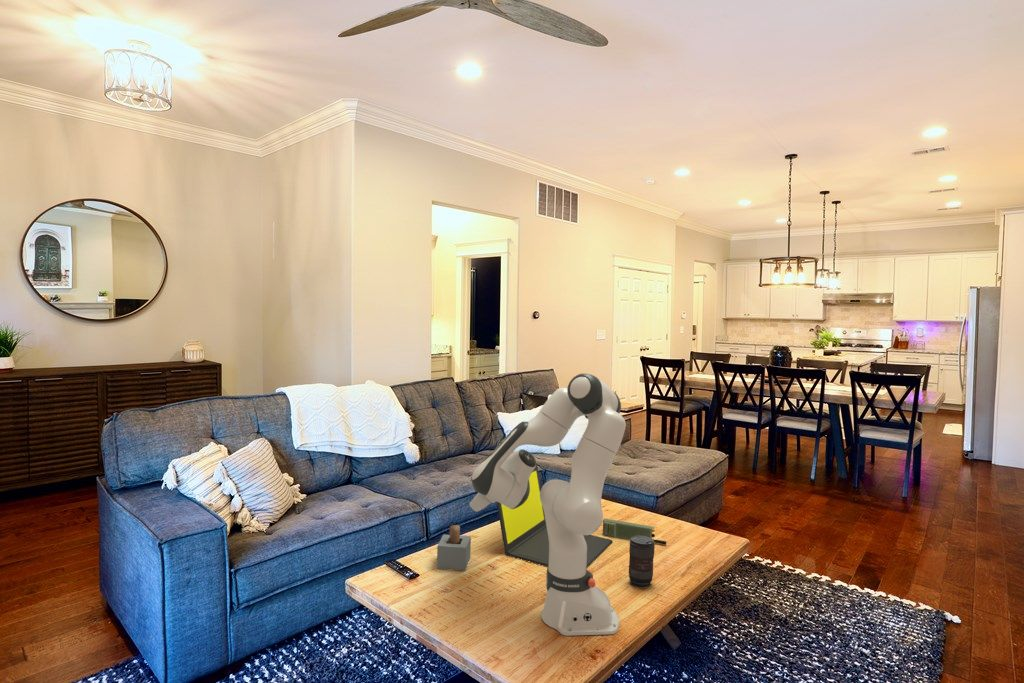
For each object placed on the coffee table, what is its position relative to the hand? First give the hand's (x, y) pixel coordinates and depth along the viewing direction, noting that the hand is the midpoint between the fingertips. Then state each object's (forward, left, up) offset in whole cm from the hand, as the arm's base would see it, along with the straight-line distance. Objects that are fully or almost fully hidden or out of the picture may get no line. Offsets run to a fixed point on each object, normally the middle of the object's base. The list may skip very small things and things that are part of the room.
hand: (478, 497), depth 196 cm
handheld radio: (-58, -32, -25) cm, 71 cm away
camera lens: (-56, +5, -24) cm, 61 cm away
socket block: (+8, 0, -24) cm, 26 cm away
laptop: (-27, -20, -25) cm, 41 cm away
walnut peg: (+8, 0, -21) cm, 23 cm away
